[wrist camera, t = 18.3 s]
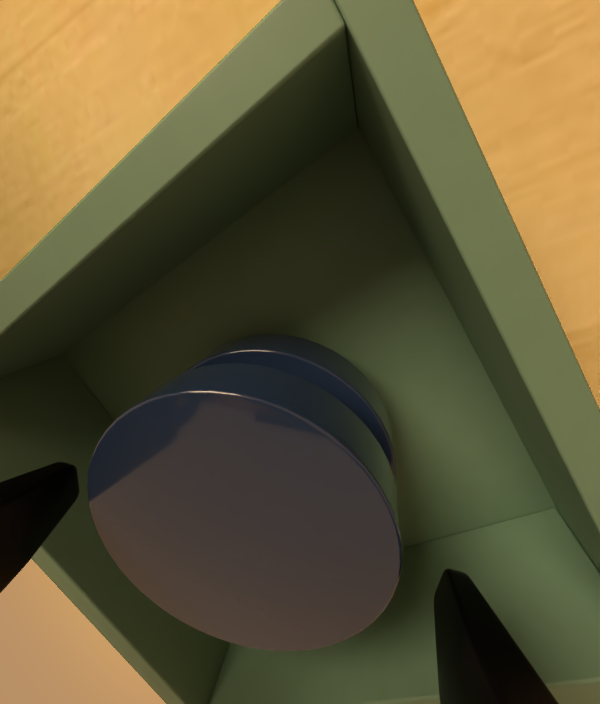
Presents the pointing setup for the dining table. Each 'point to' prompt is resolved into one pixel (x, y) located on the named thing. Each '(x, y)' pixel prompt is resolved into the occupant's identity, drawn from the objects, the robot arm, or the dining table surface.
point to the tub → (332, 332)
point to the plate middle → (250, 508)
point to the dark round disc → (314, 376)
